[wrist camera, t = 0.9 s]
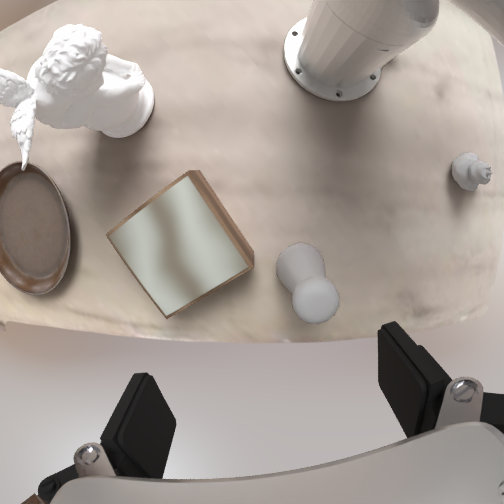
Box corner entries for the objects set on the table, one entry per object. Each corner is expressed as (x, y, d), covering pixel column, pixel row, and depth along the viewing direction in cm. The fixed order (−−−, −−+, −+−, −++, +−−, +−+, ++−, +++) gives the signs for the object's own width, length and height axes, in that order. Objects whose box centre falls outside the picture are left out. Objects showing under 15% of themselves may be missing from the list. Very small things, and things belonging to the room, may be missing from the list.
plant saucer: (98, 278, 38) (87, 286, 35) (16, 295, 40) (5, 302, 36) (64, 140, 33) (51, 139, 30) (-13, 185, 34) (-26, 187, 31)
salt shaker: (271, 279, 38) (278, 331, 25) (278, 235, 36) (291, 270, 24) (315, 284, 38) (340, 337, 26) (324, 242, 37) (357, 279, 24)
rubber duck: (445, 148, 33) (481, 148, 25) (476, 157, 33) (511, 158, 25) (444, 186, 34) (479, 192, 27) (474, 192, 34) (509, 199, 27)
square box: (199, 170, 34) (188, 170, 28) (253, 251, 37) (253, 268, 31) (126, 224, 36) (104, 235, 30) (178, 298, 39) (166, 320, 33)
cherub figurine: (172, 79, 31) (90, -6, 10) (149, 172, 34) (35, 184, 13) (92, 75, 30) (-17, 26, 9) (72, 160, 34) (-53, 170, 12)
